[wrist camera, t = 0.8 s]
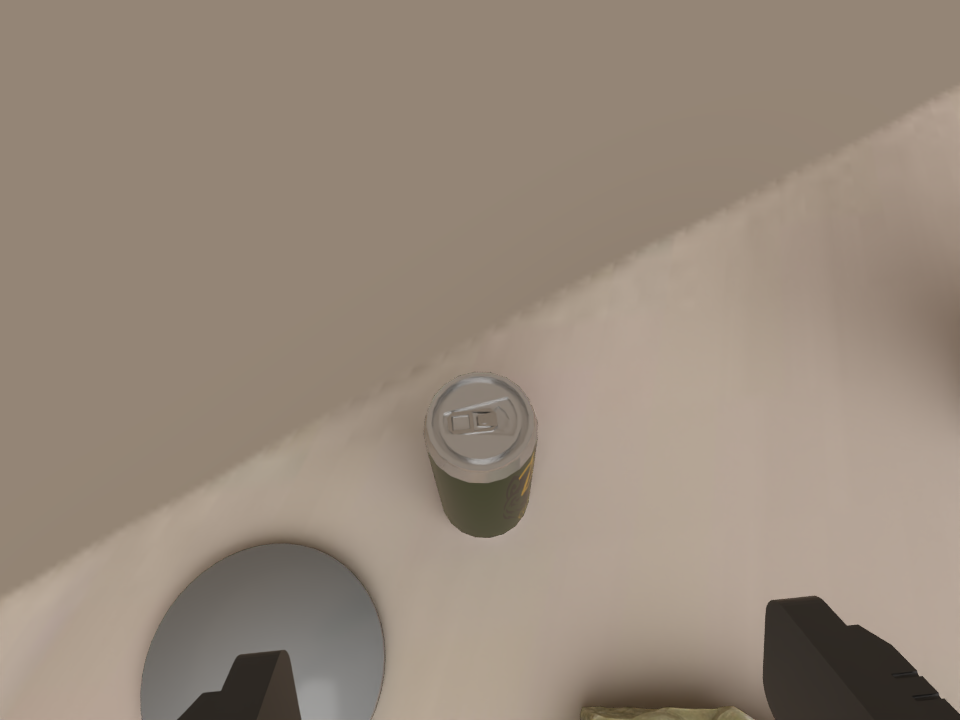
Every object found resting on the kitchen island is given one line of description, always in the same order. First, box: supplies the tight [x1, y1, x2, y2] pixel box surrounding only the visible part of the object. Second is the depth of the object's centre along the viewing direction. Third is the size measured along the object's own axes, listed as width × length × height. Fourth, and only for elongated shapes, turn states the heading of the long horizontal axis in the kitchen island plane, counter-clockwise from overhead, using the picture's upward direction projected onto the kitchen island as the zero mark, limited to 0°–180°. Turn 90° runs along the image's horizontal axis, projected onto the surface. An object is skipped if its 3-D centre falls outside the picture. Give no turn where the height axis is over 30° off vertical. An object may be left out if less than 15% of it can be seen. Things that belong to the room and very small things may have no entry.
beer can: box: [424, 372, 538, 538], centre depth 34 cm, size 5×5×12 cm
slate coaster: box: [140, 544, 385, 720], centre depth 35 cm, size 13×13×1 cm
